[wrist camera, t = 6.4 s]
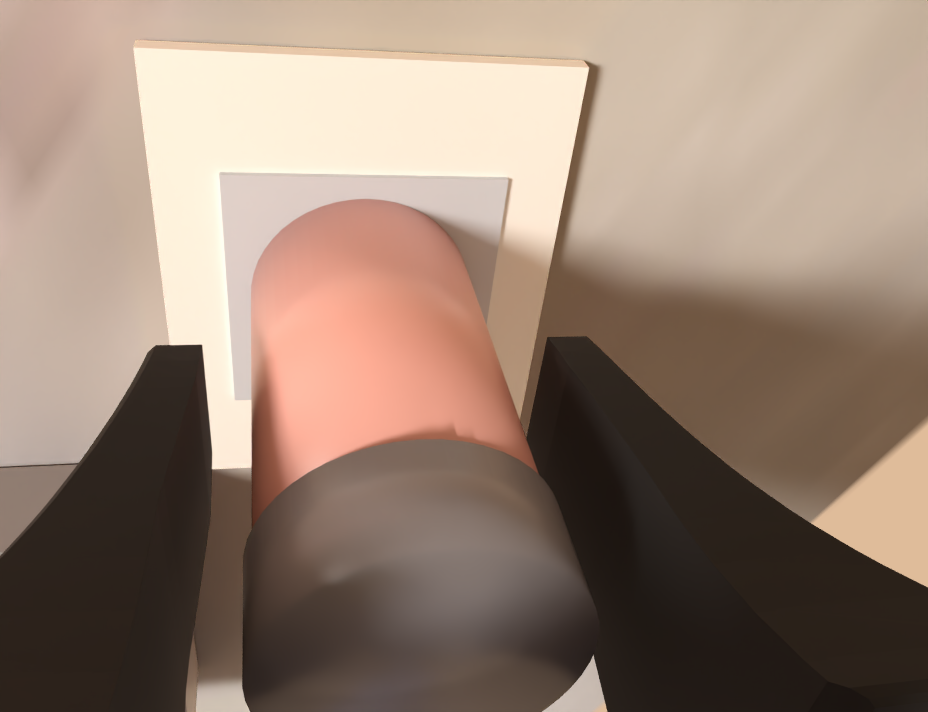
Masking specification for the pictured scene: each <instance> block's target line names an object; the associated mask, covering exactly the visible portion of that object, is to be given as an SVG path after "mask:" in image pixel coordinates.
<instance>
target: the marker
mask: <svg viewBox="0 0 928 712" xmlns="http://www.w3.org/2000/svg"><path fill="white" fill-rule="evenodd" d="M251 438H252V530H251V532H250V535H249V537H248V539H247V542H246V547H245V551H244V556H243V674H242V688H243V693H244V697H245V701H246V703H247V706H248V708H249V710H250V712H542V711H543V710H545V709H546V708H547V707H549V706H550V705H551V704H553V703H554V702H555V701H556V700H558V699H559V698H560V697H561V696H562V695H563V694H564V693H565V692H566V691H568V690H569V689H570V688H571V687H572V686H573V684H574V683H575V682H576V681H577V680H578V678H579V677H580V676H581V675H582V673H583V672H584V670H585V669H586V667H587V666H588V664H589V663H590V661H591V658H592V656H593V654H594V652H595V649H596V646H597V641H598V637H599V619H598V615H597V610H596V607H595V604H594V602H593V599H592V596H591V593H590V590H589V588H588V585H587V582H586V579H585V577H584V574H583V571H582V568H581V566H580V563H579V560H578V557H577V555H576V552H575V549H574V546H573V543H572V541H571V538H570V535H569V532H568V530H567V527H566V524H565V521H564V519H563V516H562V513H561V510H560V508H559V505H558V502H557V500H556V498H555V496H554V494H553V492H552V490H551V489H550V487H549V486H548V485H547V483H546V482H545V480H544V479H543V478H542V477H541V476H540V475H539V473H538V471H537V468H536V465H535V462H534V459H533V456H532V453H531V451H530V448H529V445H528V442H527V439H526V436H525V434H524V431H523V428H522V425H521V422H520V419H519V416H518V414H517V411H516V408H515V405H514V402H513V399H512V397H511V394H510V391H509V388H508V385H507V382H506V379H505V377H504V374H503V371H502V368H501V365H500V362H499V360H498V357H497V354H496V351H495V348H494V345H493V342H492V340H491V337H490V334H489V331H488V328H487V325H486V323H485V320H484V317H483V314H482V311H481V308H480V305H479V303H478V300H477V297H476V294H475V291H474V288H473V286H472V283H471V280H470V277H469V274H468V271H467V268H466V266H465V263H464V260H463V258H462V255H461V253H460V251H459V249H458V247H457V245H456V244H455V242H454V241H453V239H452V238H451V237H450V235H449V234H448V233H447V232H446V231H445V230H444V229H443V228H442V227H441V226H440V225H439V224H437V223H436V222H435V221H434V220H432V219H431V218H429V217H428V216H426V215H425V214H423V213H421V212H419V211H417V210H415V209H413V208H410V207H408V206H405V205H401V204H398V203H395V202H389V201H384V200H374V199H356V200H346V201H341V202H335V203H332V204H328V205H325V206H321V207H319V208H317V209H314V210H312V211H310V212H307V213H305V214H304V215H302V216H300V217H299V218H297V219H295V220H294V221H292V222H291V223H290V224H288V225H287V226H286V227H284V228H283V229H282V230H281V231H280V232H279V233H278V234H277V235H276V236H275V237H274V238H273V239H272V240H271V242H270V243H269V244H268V246H267V247H266V248H265V250H264V251H263V253H262V255H261V257H260V259H259V260H258V263H257V265H256V268H255V271H254V274H253V279H252V284H251Z"/></svg>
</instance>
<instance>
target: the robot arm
mask: <svg viewBox="0 0 928 712" xmlns="http://www.w3.org/2000/svg"><path fill="white" fill-rule="evenodd" d="M527 442H528V445H529V448H530V451H531V453H532V456H533V459H534V462H535V465H536V468H537V471H538V473H539V475H540V476H541V477H542V478H543V479H544V480H545V482H546V483H547V485H548V486H549V487H550V489H551V490H552V492H553V494H554V496H555V498H556V500H557V502H558V505H559V508H560V510H561V513H562V516H563V519H564V521H565V524H566V527H567V530H568V532H569V535H570V538H571V541H572V543H573V546H574V549H575V552H576V555H577V557H578V560H579V563H580V566H581V568H582V571H583V574H584V577H585V579H586V582H587V585H588V588H589V590H590V593H591V596H592V599H593V602H594V604H595V607H596V610H597V615H598V619H599V637H598V641H597V646H596V649H595V652H594V654H593V655H594V659H595V663H596V667H597V671H598V675H599V679H600V683H601V687H602V691H603V695H604V699H605V704H606V708H607V711H608V712H928V587H926V586H924V585H921V584H919V583H918V582H916V581H913V580H912V579H909V578H908V577H906V576H904V575H902V574H899V573H898V572H896V571H894V570H892V569H890V568H888V567H886V566H884V565H882V564H880V563H878V562H876V561H875V560H873V559H871V558H869V557H867V556H866V555H864V554H862V553H860V552H858V551H856V550H855V549H853V548H851V547H849V546H848V545H846V544H844V543H843V542H841V541H839V540H838V539H836V538H834V537H833V536H831V535H829V534H828V533H826V532H824V531H823V530H821V529H819V528H818V527H816V526H814V525H813V524H811V523H809V522H808V521H806V520H805V519H803V518H802V517H800V516H799V515H797V514H795V513H794V512H792V511H791V510H789V509H788V508H786V507H785V506H784V505H782V504H781V503H779V502H778V501H776V500H775V499H774V498H772V497H771V496H769V495H768V494H766V493H765V492H764V491H762V490H761V489H759V488H758V487H756V486H755V485H754V484H752V483H751V482H749V481H748V480H747V479H745V478H744V477H743V476H741V475H740V474H739V473H737V472H736V471H735V470H734V469H732V468H731V467H730V466H728V465H727V464H726V463H725V462H724V461H722V460H721V459H720V458H719V457H717V456H716V455H715V454H714V453H713V452H711V451H710V450H709V449H708V448H706V447H705V446H704V445H703V444H702V443H700V442H699V441H698V440H697V439H696V438H694V437H693V436H692V435H691V434H690V433H689V432H688V431H686V430H685V429H684V428H683V427H682V426H681V425H680V424H678V423H677V422H676V421H675V420H674V419H673V418H672V417H671V416H670V415H669V414H667V413H666V412H665V411H664V410H663V409H662V408H661V407H660V406H659V405H658V404H657V403H656V402H654V401H653V400H652V399H651V398H650V397H649V396H648V395H647V394H646V393H645V392H644V391H643V390H642V389H641V388H640V387H639V386H638V385H637V384H636V383H635V382H634V381H633V380H631V379H630V378H629V377H628V376H627V375H626V374H625V373H624V372H623V371H622V370H621V369H620V368H619V367H618V366H617V365H616V364H615V363H614V362H613V361H612V360H611V359H610V358H609V357H608V356H607V355H606V354H605V353H604V352H603V351H602V350H601V349H600V348H599V347H597V346H596V345H595V344H594V343H593V342H592V341H591V340H590V339H589V338H588V337H587V336H585V337H547V342H546V346H545V351H544V356H543V361H542V366H541V371H540V376H539V380H538V385H537V390H536V395H535V400H534V405H533V409H532V414H531V419H530V424H529V429H528V434H527ZM211 485H212V443H211V433H210V422H209V411H208V401H207V390H206V380H205V369H204V358H203V348H202V345H156V346H155V347H153V348H152V349H151V350H150V351H149V352H148V353H147V355H146V357H145V359H144V361H143V363H142V365H141V367H140V369H139V371H138V373H137V375H136V376H135V378H134V380H133V382H132V384H131V385H130V387H129V389H128V390H127V392H126V394H125V395H124V397H123V399H122V400H121V402H120V403H119V405H118V407H117V408H116V410H115V412H114V413H113V415H112V416H111V418H110V419H109V421H108V422H107V423H106V425H105V426H104V428H103V429H102V431H101V432H100V434H99V435H98V437H97V438H96V440H95V441H94V443H93V444H92V446H91V447H90V449H89V450H88V451H87V453H86V454H85V455H84V457H83V458H82V460H81V461H80V462H79V463H78V465H77V466H76V467H75V469H74V470H73V471H72V472H71V474H70V475H69V476H68V478H67V479H66V480H65V481H64V483H63V484H62V485H61V487H60V488H59V489H58V490H57V492H56V493H55V494H54V496H53V497H52V498H51V499H50V501H49V502H48V503H47V504H46V505H45V507H44V508H43V509H42V510H41V511H40V512H39V514H38V515H37V516H36V517H35V518H34V519H33V521H32V522H31V523H30V524H29V525H28V526H27V527H26V528H25V530H24V531H23V532H22V533H21V534H20V535H19V536H18V537H17V538H16V539H15V540H14V541H13V543H12V544H11V545H10V546H9V547H8V548H7V549H6V550H5V551H4V552H3V553H2V554H1V555H0V712H185V703H186V687H187V677H188V667H189V658H190V651H191V645H192V638H193V631H194V625H195V618H196V611H197V605H198V598H199V591H200V585H201V578H202V571H203V565H204V558H205V551H206V544H207V537H208V530H209V523H210V515H211Z"/></svg>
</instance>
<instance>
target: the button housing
mask: <svg viewBox="0 0 928 712" xmlns="http://www.w3.org/2000/svg"><path fill="white" fill-rule="evenodd" d="M77 465H78V464H75V465H54V466H32V467H10V468H0V555H1V554H2V553H3V552H4V551H5V550H6V549H7V548H8V547H9V546H10V545H11V544H12V543H13V541H14V540H15V539H16V538H17V537H18V536H19V535H20V534H21V533H22V532H23V531H24V530H25V528H26V527H27V526H28V525H29V524H30V523H31V522H32V521H33V519H34V518H35V517H36V516H37V515H38V514H39V512H40V511H41V510H42V509H43V508H44V507H45V505H46V504H47V503H48V502H49V501H50V499H51V498H52V497H53V496H54V494H55V493H56V492H57V490H58V489H59V488H60V487H61V485H62V484H63V483H64V481H65V480H66V479H67V478H68V476H69V475H70V474H71V472H72V471H73V470H74V469H75V467H76V466H77ZM197 682H198V662H197V655H196V647H195V640H194V633H193V638H192V645H191V651H190V658H189V667H188V677H187V687H186V703H185V712H196V698H197Z"/></svg>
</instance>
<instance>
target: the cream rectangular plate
mask: <svg viewBox="0 0 928 712" xmlns="http://www.w3.org/2000/svg"><path fill="white" fill-rule="evenodd" d="M133 49H134V57H135V65H136V73H137V82H138V90H139V98H140V106H141V114H142V122H143V130H144V139H145V147H146V155H147V163H148V171H149V179H150V187H151V196H152V204H153V212H154V220H155V228H156V236H157V244H158V253H159V261H160V269H161V277H162V285H163V293H164V301H165V310H166V318H167V326H168V334H169V342H170V345H202V348H203V358H204V369H205V380H206V390H207V401H208V411H209V422H210V433H211V443H212V469H229V468H249V467H252V438H251V284H252V279H253V274H254V271H255V268H256V265H257V263H258V260H259V259H260V257H261V255H262V253H263V251H264V250H265V248H266V247H267V246H268V244H269V243H270V242H271V240H272V239H273V238H274V237H275V236H276V235H277V234H278V233H279V232H280V231H281V230H282V229H283V228H284V227H286V226H287V225H288V224H290V223H291V222H292V221H294V220H295V219H297V218H299V217H300V216H302V215H304V214H305V213H307V212H310V211H312V210H314V209H317V208H319V207H321V206H325V205H328V204H332V203H335V202H341V201H346V200H356V199H374V200H384V201H389V202H395V203H398V204H401V205H405V206H408V207H410V208H413V209H415V210H417V211H419V212H421V213H423V214H425V215H426V216H428V217H429V218H431V219H432V220H434V221H435V222H436V223H437V224H439V225H440V226H441V227H442V228H443V229H444V230H445V231H446V232H447V233H448V234H449V235H450V237H451V238H452V239H453V241H454V242H455V244H456V245H457V247H458V249H459V251H460V253H461V255H462V258H463V260H464V263H465V266H466V268H467V271H468V274H469V277H470V280H471V283H472V286H473V288H474V291H475V294H476V297H477V300H478V303H479V305H480V308H481V311H482V314H483V317H484V320H485V323H486V325H487V328H488V331H489V334H490V337H491V340H492V342H493V345H494V348H495V351H496V354H497V357H498V360H499V362H500V365H501V368H502V371H503V374H504V377H505V379H506V382H507V385H508V388H509V391H510V394H511V397H512V399H513V402H514V405H515V408H516V411H517V414H518V416H519V419H520V417H521V412H522V407H523V402H524V397H525V392H526V386H527V381H528V376H529V371H530V366H531V361H532V356H533V351H534V346H535V341H536V336H537V331H538V325H539V320H540V315H541V310H542V305H543V300H544V295H545V290H546V285H547V280H548V275H549V270H550V264H551V259H552V254H553V249H554V244H555V239H556V234H557V229H558V224H559V219H560V214H561V209H562V203H563V198H564V193H565V188H566V183H567V178H568V173H569V168H570V163H571V158H572V153H573V147H574V142H575V137H576V132H577V127H578V122H579V117H580V112H581V107H582V102H583V97H584V92H585V86H586V81H587V76H588V71H589V67H588V66H587V64H586V63H585V62H584V60H563V59H542V58H520V57H498V56H477V55H455V54H433V53H411V52H390V51H368V50H346V49H324V48H303V47H281V46H259V45H237V44H216V43H194V42H172V41H150V40H136V41H135V44H134V47H133Z"/></svg>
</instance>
